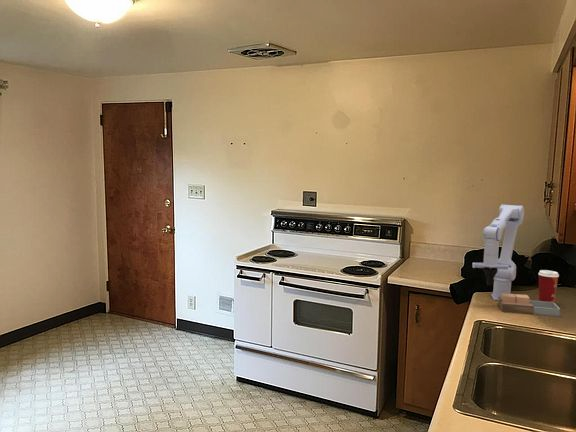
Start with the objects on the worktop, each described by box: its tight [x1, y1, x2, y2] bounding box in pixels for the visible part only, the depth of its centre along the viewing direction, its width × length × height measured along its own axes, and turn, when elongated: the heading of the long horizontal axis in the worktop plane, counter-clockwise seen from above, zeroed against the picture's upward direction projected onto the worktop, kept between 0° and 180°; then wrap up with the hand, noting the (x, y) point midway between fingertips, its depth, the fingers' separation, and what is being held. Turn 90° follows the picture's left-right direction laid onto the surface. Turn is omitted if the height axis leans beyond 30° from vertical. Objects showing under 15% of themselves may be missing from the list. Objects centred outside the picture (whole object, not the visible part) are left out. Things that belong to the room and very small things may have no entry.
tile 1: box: [501, 293, 516, 303], centre depth 212 cm, size 5×5×2 cm
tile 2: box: [514, 293, 531, 304], centre depth 211 cm, size 5×5×2 cm
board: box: [497, 296, 534, 315], centre depth 212 cm, size 12×12×4 cm
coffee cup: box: [537, 269, 560, 303], centre depth 219 cm, size 8×8×15 cm
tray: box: [530, 299, 562, 317], centre depth 209 cm, size 11×10×3 cm
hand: (489, 284), depth 214 cm, fingers closed
